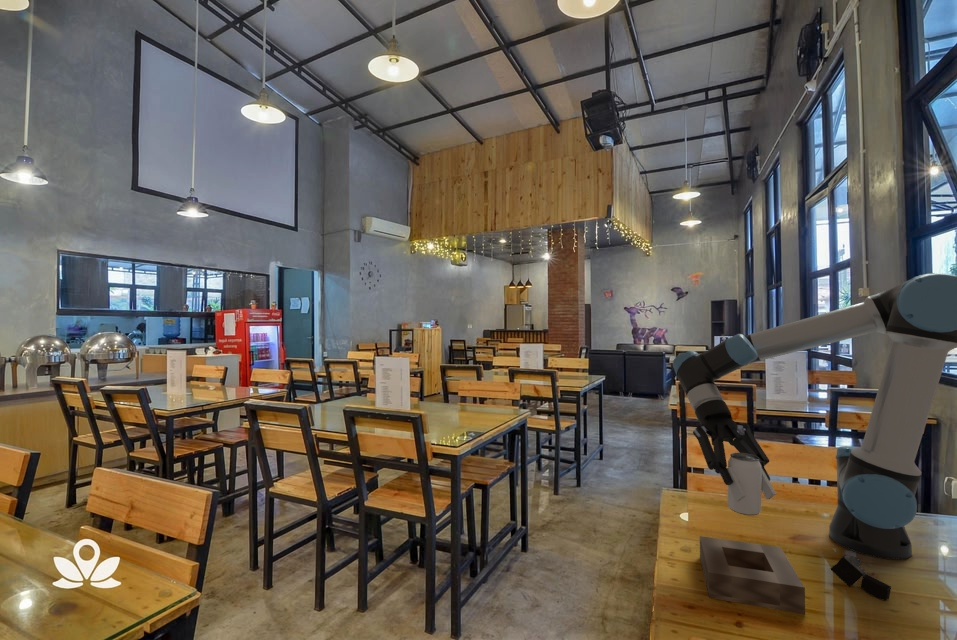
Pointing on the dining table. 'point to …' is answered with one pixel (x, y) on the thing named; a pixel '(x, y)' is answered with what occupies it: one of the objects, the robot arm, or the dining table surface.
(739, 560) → the socket block
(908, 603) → the dining table surface
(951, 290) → the robot arm
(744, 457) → the can
